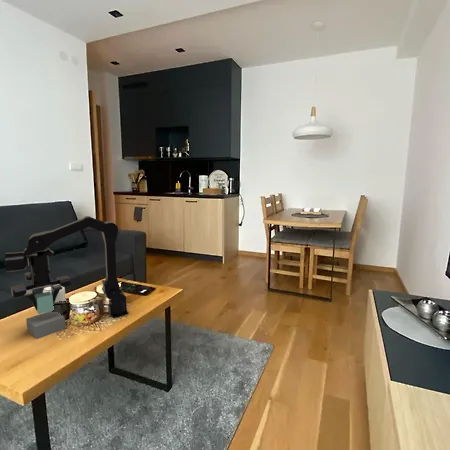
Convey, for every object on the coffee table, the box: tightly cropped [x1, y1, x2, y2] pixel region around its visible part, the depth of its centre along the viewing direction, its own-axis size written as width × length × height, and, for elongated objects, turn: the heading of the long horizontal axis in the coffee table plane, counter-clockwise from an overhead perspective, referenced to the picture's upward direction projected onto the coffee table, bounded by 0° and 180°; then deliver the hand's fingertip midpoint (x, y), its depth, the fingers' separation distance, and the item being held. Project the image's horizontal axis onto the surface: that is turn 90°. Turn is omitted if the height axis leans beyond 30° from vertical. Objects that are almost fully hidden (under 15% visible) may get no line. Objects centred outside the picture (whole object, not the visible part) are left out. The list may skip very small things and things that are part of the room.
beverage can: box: [42, 286, 67, 313], centre depth 126 cm, size 8×8×12 cm
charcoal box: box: [25, 311, 66, 340], centre depth 113 cm, size 10×10×5 cm
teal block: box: [34, 292, 54, 315], centre depth 112 cm, size 5×5×6 cm
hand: (44, 307), depth 112 cm, fingers closed on teal block, 5 cm apart
